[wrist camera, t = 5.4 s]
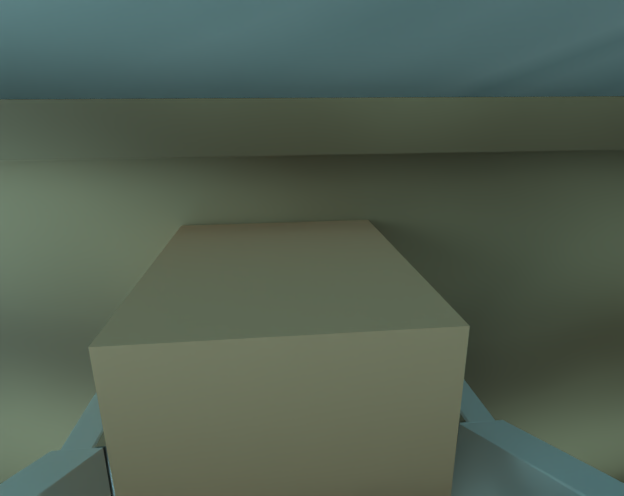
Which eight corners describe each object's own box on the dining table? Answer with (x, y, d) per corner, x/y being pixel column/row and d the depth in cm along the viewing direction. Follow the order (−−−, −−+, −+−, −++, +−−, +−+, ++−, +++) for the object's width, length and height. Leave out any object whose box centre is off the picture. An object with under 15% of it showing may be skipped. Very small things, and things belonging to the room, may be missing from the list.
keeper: (181, 225, 9) (87, 347, 4) (367, 219, 9) (469, 326, 5) (208, 487, 11) (164, 764, 6) (359, 474, 12) (425, 726, 7)
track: (-382, 105, 9) (-1195, 94, 4) (791, 98, 11) (1193, 86, 6) (-175, 556, 12) (-459, 842, 7) (676, 476, 15) (875, 652, 10)
